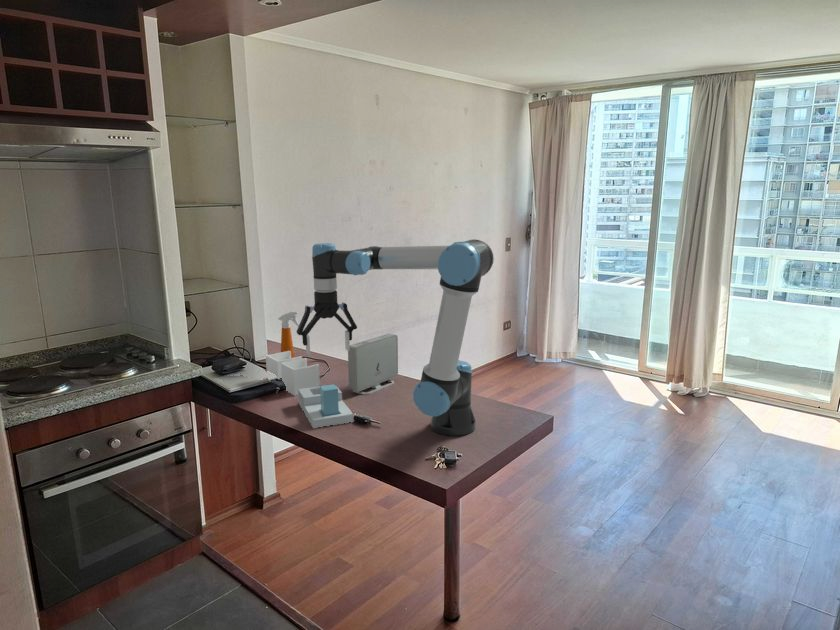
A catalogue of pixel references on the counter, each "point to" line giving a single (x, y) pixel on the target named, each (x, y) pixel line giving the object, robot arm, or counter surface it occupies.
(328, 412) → the plug
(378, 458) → the counter surface
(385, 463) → the counter surface
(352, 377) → the network device
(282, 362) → the storage container
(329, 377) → the counter surface
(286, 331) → the spray bottle
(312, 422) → the panel
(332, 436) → the counter surface
